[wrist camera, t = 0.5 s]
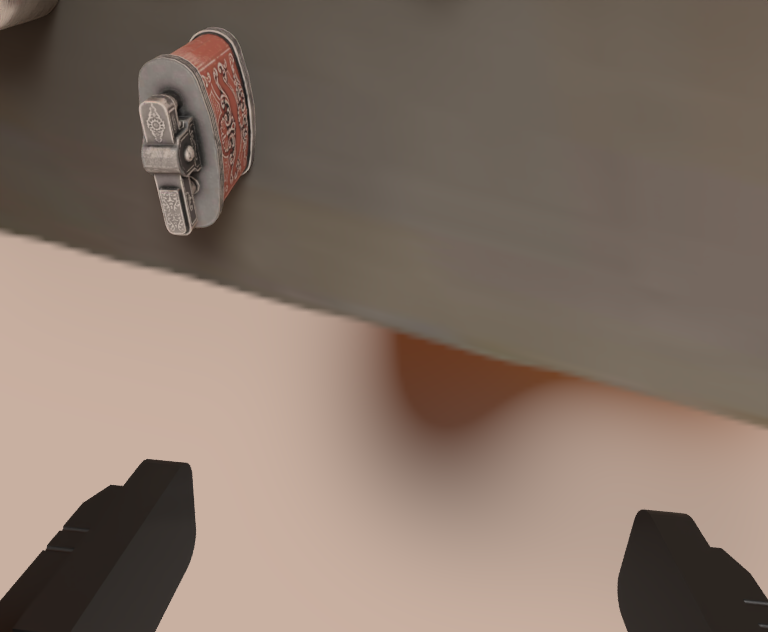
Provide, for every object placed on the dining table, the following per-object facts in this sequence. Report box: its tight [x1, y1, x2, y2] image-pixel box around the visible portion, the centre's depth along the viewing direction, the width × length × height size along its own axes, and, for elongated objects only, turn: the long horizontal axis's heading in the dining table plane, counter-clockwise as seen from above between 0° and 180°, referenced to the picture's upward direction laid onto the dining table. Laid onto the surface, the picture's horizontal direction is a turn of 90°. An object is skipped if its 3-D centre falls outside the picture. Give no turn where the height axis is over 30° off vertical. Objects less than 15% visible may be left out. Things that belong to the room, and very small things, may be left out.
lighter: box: [138, 27, 256, 235], centre depth 29 cm, size 8×3×10 cm, turn 179°
